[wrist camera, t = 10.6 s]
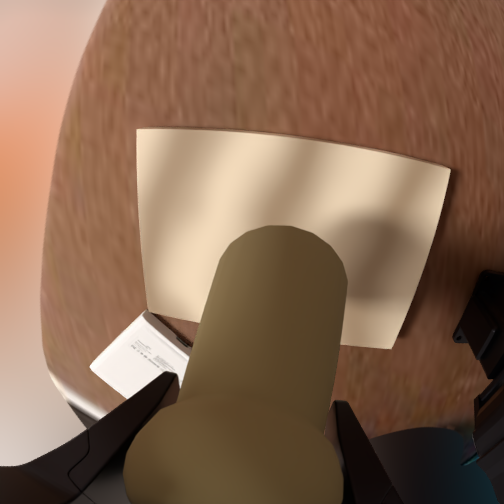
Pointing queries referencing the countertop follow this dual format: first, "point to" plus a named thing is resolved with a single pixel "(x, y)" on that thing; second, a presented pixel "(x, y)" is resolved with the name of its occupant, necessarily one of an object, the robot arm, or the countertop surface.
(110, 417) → the robot arm
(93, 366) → the external hard drive
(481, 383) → the countertop surface
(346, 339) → the birch board
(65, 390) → the countertop surface
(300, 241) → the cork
